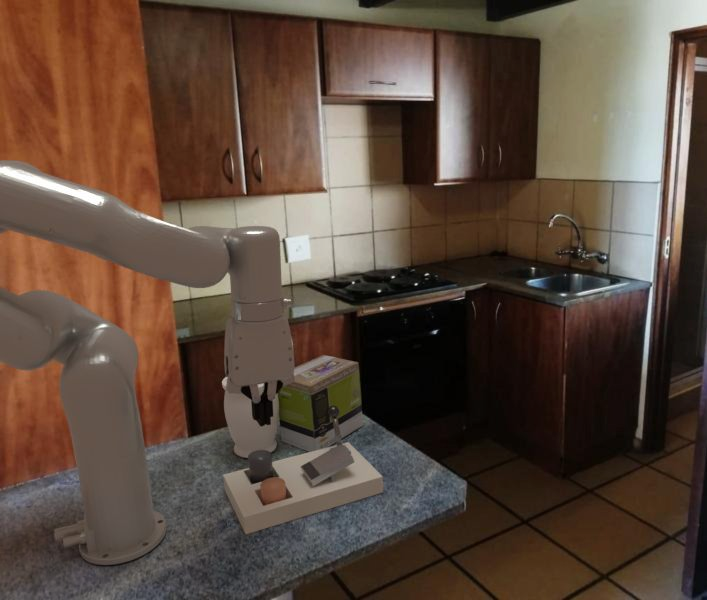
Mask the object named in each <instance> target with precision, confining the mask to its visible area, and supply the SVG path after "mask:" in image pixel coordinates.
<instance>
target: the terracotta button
mask: <svg viewBox="0 0 707 600" xmlns="http://www.w3.org/2000/svg"><path fill="white" fill-rule="evenodd" d="M260 487H261V499H262V505H263V506H265V505H268V504H272V503H275V502H279V501H282V500H285V499H286V487H285V481H284V480H283V479H281V478H277V477H273V478H268V479H266V480H264V481H263V482H262V483H261V485H260Z"/></svg>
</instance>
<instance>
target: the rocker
mask: <svg viewBox="0 0 707 600" xmlns="http://www.w3.org/2000/svg"><path fill="white" fill-rule="evenodd" d="M352 463H354V459H353V457H352V456H351V455H350V454H349V453H348V451H347V450H346V449H345V448H344V447H343V446H342V445H341V444H340V445H338V446H336V447H334V448H333V449H331V450H329V451H327V452H326V453H324V454H322V455H320V456H318V457H317V458H315V459H313V460H311V461H309V462H308V463H306V464H304V465H302V466H301V470H302V472H303V474H304V475H305V476H306V478H307V479H308V480H309V482H310V483H311V484H312V486H314V485H316V484H318V483H320V482H321V481H323V480H325V479H326V478H328V477H330V476H332V475H333V474H335V473H337V472H339V471H340V470H342V469H344V468H345V467H347V466H349V465H351V464H352Z"/></svg>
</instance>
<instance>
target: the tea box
mask: <svg viewBox="0 0 707 600" xmlns="http://www.w3.org/2000/svg"><path fill="white" fill-rule="evenodd" d="M360 376H361V375H360V365H359V362H358V361H353V360H349V359H348V360H347V359H344V358H341V357H339V358H338V357H336V356H330V355H326V354H322V355H320V356H319V357H316V358H313V359H311V360H310V361H309V360H308V361H307V362H304V363H302V364H300V365H298V366H294V377H295V381H294V382H293V383H290V384H288V385H286V386H282V388H281V389H280V390H279V391H278V393H277V394H278V399H279V417H278V421H279V427H280V436H281V442H283V443H285V444H288V445H290V446H293V447H295V448H297V449H299V450H303V451H305V452H307V453H308V452H312V451H316V450H320V449H324V448H327V447H331V446H333V444H335V443H336V437H335V432H334V426H333V421H332V417H330V416H329V415H328V408H329V407H330V406H337V407H338V408H339V411H340V412H339V415H338V416H337V418H338V423H339V429H340V434H341V440H342V439H343V438H345V437H347V436H348V435H350V434H351V433H353V432H355V431H357V430H358V429H360V428H361V427H363V425H364V423H363V422H364V421H363V410H362V406H363V405H362V391H361V389H362V388H361V377H360Z"/></svg>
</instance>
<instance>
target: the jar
mask: <svg viewBox="0 0 707 600" xmlns="http://www.w3.org/2000/svg"><path fill="white" fill-rule="evenodd" d="M227 379H228V377H226V376H225V377H224V378H223V379H222V381H221V386H222V388H223V389H224V398H223V410H224V417H225V420H226V425H227V427H228V431H229V435H230V437H231V439H232V441H233V442H234V447H233V452H234V454H235V455H237V456H238V457H240V458H243V459H244V458H246V459H248V455H249V454H250V453H252V452H254V451H257V450H267V451H270V452H271V453H272V452H274V451H275V450H276V449H277V446H278V443H277V440H276V439H275V437H276V435H277V433H278V427H279V399H278V394H276V395H275V399H274V400H273V417H271V425H266V424H265V425H264V426H261V427H260V425H259V424H258V422H257V421H256V420H254V419H253V417H252V404H251V399H249V398H248V397H247V396H245V395H244V394H234V393H229V392H228V391H227V390H226V384H227ZM263 385H264V383H262V384H258V389H259V394H260V396H261V395H262V393H263Z"/></svg>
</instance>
